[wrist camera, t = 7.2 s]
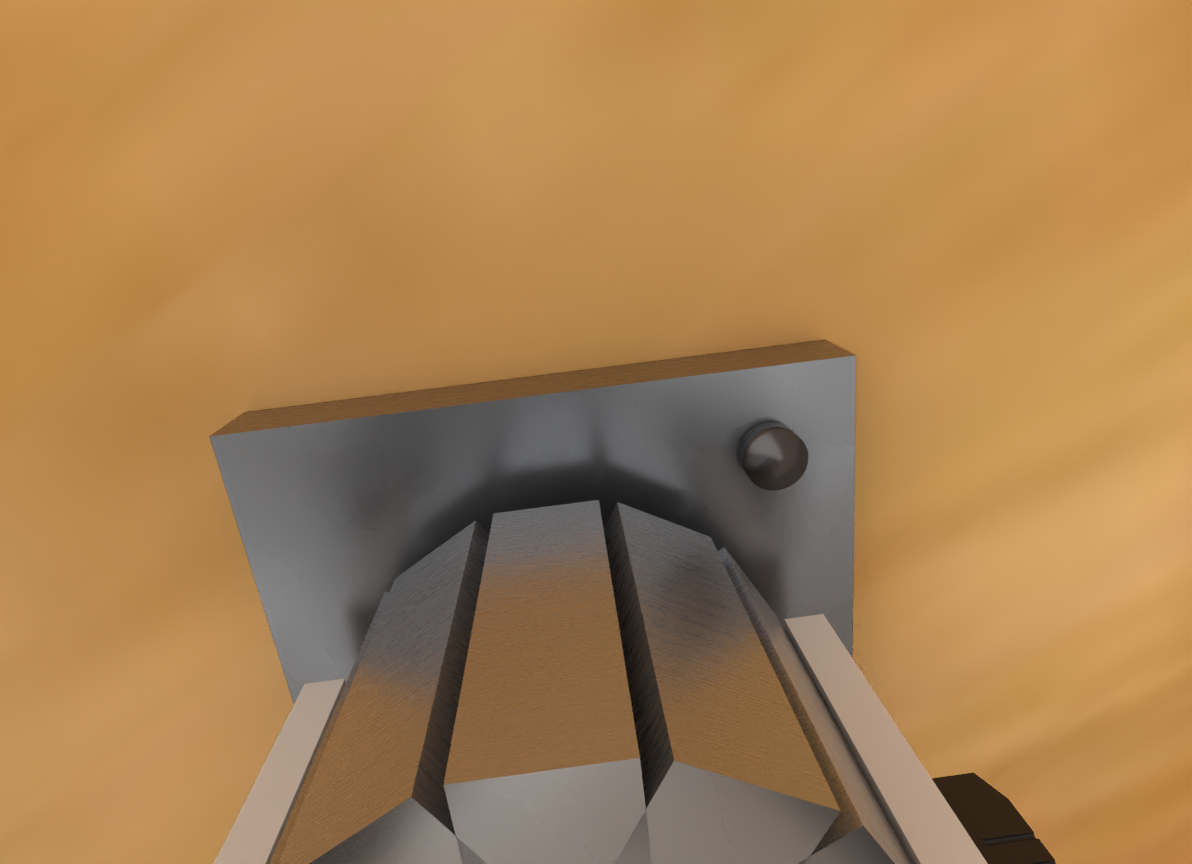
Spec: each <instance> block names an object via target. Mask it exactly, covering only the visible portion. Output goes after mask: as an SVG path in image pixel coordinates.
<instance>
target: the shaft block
mask: <svg viewBox="0 0 1192 864" xmlns="http://www.w3.org/2000/svg"><path fill="white" fill-rule="evenodd" d="M855 400H856V355H854V354H852V353H850V352H848V351H846V350H844V349H842V348H840V347H839V346H837V345H835V344H833V343H831V342H829V341H827V340H821V341H813V342H805V343H797V344H789V345H781V346H773V347H765V348H757V349H749V350H741V351H733V352H724V353H716V354H708V355H700V356H692V357H684V358H676V359H668V360H660V361H652V362H644V363H636V364H628V365H620V366H612V367H604V368H596V369H588V370H580V371H572V372H564V373H556V374H548V375H540V376H532V377H524V378H516V379H508V380H500V381H492V382H484V383H476V384H468V385H460V386H452V387H444V388H436V389H428V390H420V391H412V392H404V393H396V394H388V395H380V396H372V397H364V398H356V399H348V400H340V401H332V402H324V403H316V404H308V405H300V406H292V407H284V408H276V409H268V410H260V411H252V412H244V413H243V414H241V415H240V416H238V417H237V418H235V419H234V420H233V421H231V422H230V423H228V424H227V425H225V426H224V427H222V428H221V429H220V430H218V431H217V432H215V433H214V434H212V435H211V436H209V437H210V440H211V443H212V446H213V450H214V453H215V456H216V459H217V462H218V465H219V469H220V472H221V475H222V478H223V481H224V484H225V488H226V491H227V494H228V497H229V500H230V503H231V507H232V510H233V513H234V516H235V519H236V522H237V526H238V529H239V532H240V535H241V538H242V541H243V545H244V548H245V551H246V554H247V557H248V560H249V564H250V567H251V570H252V573H253V576H254V579H255V583H256V586H257V589H258V592H259V595H260V598H261V602H262V605H263V608H264V611H265V614H266V617H267V621H268V624H269V627H270V630H271V633H272V636H273V640H274V643H275V646H276V649H277V652H278V655H279V659H280V662H281V665H282V668H283V671H284V674H285V678H286V681H287V684H288V687H289V690H290V693H291V697H292V700H293V703H294V704H295V702H296V700H297V698H298V696H299V694H300V692H301V690H302V688H303V686H304V684H308V683H316V682H323V681H330V680H338V679H345V682H347V679H348V677H349V675H350V672H351V670H352V668H353V665H354V663H355V661H356V658H357V656H358V653H359V651H360V649H361V646H362V644H363V642H364V639H365V637H366V635H367V632H368V630H369V628H370V625H371V623H372V621H373V618H374V616H375V613H376V611H377V609H378V606H379V604H380V602H381V599H382V597H383V595H384V592H388V593H389V592H390V590H391V587H392V585H393V582H394V580H395V578H396V577H398V576H399V575H401V574H402V573H403V572H405V571H406V570H407V569H409V568H410V567H412V566H413V565H414V564H416V563H417V562H419V561H420V560H421V559H423V558H424V557H426V556H427V555H428V554H430V553H431V552H432V551H434V550H435V549H437V548H438V547H439V546H441V545H442V544H444V543H445V542H446V541H448V540H449V539H451V538H452V537H453V536H455V535H456V534H458V533H459V532H460V531H462V530H463V529H464V528H466V527H467V526H469V525H470V524H471V523H473V522H474V521H477V522H478V523H479V524H480V525H481V526H482V527H483V529H484V530H485V531H486V532H487V533H488V534H490V529H491V523H492V518H493V513H501V512H508V511H516V510H524V509H532V508H540V507H547V506H555V505H563V504H571V503H578V502H586V501H594V500H599V504H600V511H601V517H602V523H603V529H605V527H606V525H607V522H608V520H609V518H610V516H611V514H612V512H613V510H614V508H615V506H616V504H617V502H619V503H621V504H624V505H627V506H629V507H632V508H635V509H637V510H640V511H643V512H645V513H648V514H651V515H653V516H656V517H659V518H661V519H664V520H667V521H669V522H672V523H675V524H677V525H680V526H683V527H685V528H688V529H691V530H693V531H696V532H699V533H701V534H704V535H707V536H709V537H711V539H712V541H713V543H714V545H715V547H716V549H717V551H719V550H720V549H722V548H723V547H725V549H726V550H727V551H728V552H729V554H730V555H731V556H732V558H733V559H734V560H735V562H736V563H737V564H738V566H739V567H740V568H741V569H742V571H743V572H744V573H745V575H746V576H747V577H748V579H749V580H750V581H751V582H752V584H753V585H754V586H755V588H756V589H757V590H758V592H759V593H760V594H761V596H762V597H763V598H764V599H765V601H766V602H767V603H768V605H769V606H770V607H771V609H772V610H773V611H774V612H775V614H776V615H777V617H778V619H779V620H780V622H781V624H782V626H783V628H784V630H785V621H784V619H790V618H797V617H805V616H812V615H819V614H824V616H825V617H826V619H827V621H828V622H829V624H830V625H831V627H832V628H833V630H834V631H835V633H836V634H837V636H838V637H839V639H840V640H841V642H842V643H843V645H844V646H845V648H846V649H847V651H848V652H849V654H850V655H851V657H852V644H853V563H854V482H855Z"/></svg>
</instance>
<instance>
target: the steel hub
mask: <svg viewBox="0 0 1192 864" xmlns="http://www.w3.org/2000/svg"><path fill="white" fill-rule="evenodd" d="M269 864H912V863H911V861H910V860H909V858H908V856H907V854H906V852H905V850H904V848H903V847H902V845H901V843H900V841H899V839H898V837H897V836H896V834H895V832H894V830H893V828H892V826H891V825H890V823H889V821H888V819H887V817H886V815H885V814H884V812H883V810H882V808H881V806H880V804H879V803H878V801H877V799H876V797H875V795H874V793H873V791H872V790H871V788H870V786H869V784H868V782H867V780H866V779H865V777H864V775H863V773H862V771H861V769H860V768H859V766H858V764H857V762H856V760H855V758H854V757H853V755H852V753H851V751H850V749H849V747H848V746H847V744H846V742H845V740H844V738H843V736H842V734H841V733H840V731H839V729H838V727H837V725H836V723H835V722H834V720H833V718H832V716H831V714H830V712H829V711H828V709H827V707H826V705H825V703H824V701H823V700H822V698H821V696H820V694H819V692H818V690H817V689H816V687H815V685H814V683H813V681H812V679H811V677H810V676H809V674H808V672H807V670H806V668H805V666H804V665H803V663H802V661H801V659H800V657H799V655H798V654H797V652H796V650H795V648H794V646H793V644H792V643H791V641H790V639H789V637H788V635H787V633H786V632H785V630H784V628H783V626H782V624H781V622H780V620H779V619H778V617H777V615H776V614H775V612H774V611H773V610H772V609H771V607H770V606H769V605H768V603H767V602H766V601H765V599H764V598H763V597H762V596H761V594H760V593H759V592H758V590H757V589H756V588H755V586H754V585H753V584H752V582H751V581H750V580H749V579H748V577H747V576H746V575H745V573H744V572H743V571H742V569H741V568H740V567H739V566H738V564H737V563H736V562H735V560H734V559H733V558H732V556H731V555H730V554H729V552H728V551H727V550H726V549H725V547H723V548H722V549H720V550H719V551H717V549H716V547H715V545H714V543H713V541H712V539H711V537H709V536H707V535H704V534H701V533H699V532H696V531H693V530H691V529H688V528H685V527H683V526H680V525H677V524H675V523H672V522H669V521H667V520H664V519H661V518H659V517H656V516H653V515H651V514H648V513H645V512H643V511H640V510H637V509H635V508H632V507H629V506H627V505H624V504H621V503H619V502H617V504H616V506H615V508H614V510H613V512H612V514H611V516H610V518H609V520H608V522H607V525H606V527H605V529H603V523H602V517H601V511H600V504H599V500H594V501H586V502H578V503H571V504H563V505H555V506H547V507H540V508H532V509H524V510H516V511H508V512H501V513H493V518H492V523H491V529H490V534H488V533H487V532H486V531H485V530H484V529H483V527H482V526H481V525H480V524H479V523H478V522H477V521H474V522H473V523H471V524H470V525H469V526H467V527H466V528H464V529H463V530H462V531H460V532H459V533H458V534H456V535H455V536H453V537H452V538H451V539H449V540H448V541H446V542H445V543H444V544H442V545H441V546H439V547H438V548H437V549H435V550H434V551H432V552H431V553H430V554H428V555H427V556H426V557H424V558H423V559H421V560H420V561H419V562H417V563H416V564H414V565H413V566H412V567H410V568H409V569H407V570H406V571H405V572H403V573H402V574H401V575H399V576H398V577H396V578H395V580H394V582H393V585H392V587H391V590H390V592H389V593H388V592H384V595H383V597H382V599H381V602H380V604H379V606H378V609H377V611H376V613H375V616H374V618H373V621H372V623H371V625H370V628H369V630H368V632H367V635H366V637H365V639H364V642H363V644H362V646H361V649H360V651H359V653H358V656H357V658H356V661H355V663H354V665H353V668H352V670H351V672H350V675H349V677H348V679H347V682H346V684H345V686H344V689H343V691H342V694H341V696H340V698H339V701H338V703H337V705H336V708H335V710H334V712H333V715H332V717H331V719H330V722H329V724H328V727H327V729H326V731H325V734H324V736H323V738H322V741H321V743H320V745H319V748H318V750H317V752H316V755H315V757H314V760H313V762H312V764H311V767H310V769H309V771H308V774H307V776H306V778H305V781H304V783H303V785H302V788H301V790H300V792H299V795H298V797H297V800H296V802H295V804H294V807H293V809H292V811H291V814H290V816H289V818H288V821H287V823H286V825H285V828H284V830H283V833H282V835H281V837H280V840H279V842H278V844H277V847H276V849H275V851H274V854H273V856H272V858H271V861H270V863H269Z"/></svg>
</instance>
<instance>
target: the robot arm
mask: <svg viewBox="0 0 1192 864" xmlns="http://www.w3.org/2000/svg"><path fill="white" fill-rule="evenodd" d="M784 621H785V632H786V633H787V635H788V637H789V639H790V641H791V643H792V644H793V646H794V648H795V650H796V652H797V654H798V655H799V657H800V659H801V661H802V663H803V665H804V666H805V668H806V670H807V672H808V674H809V676H810V677H811V679H812V681H813V683H814V685H815V687H816V689H817V690H818V692H819V694H820V696H821V698H822V700H823V701H824V703H825V705H826V707H827V709H828V711H829V712H830V714H831V716H832V718H833V720H834V722H835V723H836V725H837V727H838V729H839V731H840V733H841V734H842V736H843V738H844V740H845V742H846V744H847V746H848V747H849V749H850V751H851V753H852V755H853V757H854V758H855V760H856V762H857V764H858V766H859V768H860V769H861V771H862V773H863V775H864V777H865V779H866V780H867V782H868V784H869V786H870V788H871V790H872V791H873V793H874V795H875V797H876V799H877V801H878V803H879V804H880V806H881V808H882V810H883V812H884V814H885V815H886V817H887V819H888V821H889V823H890V825H891V826H892V828H893V830H894V832H895V834H896V836H897V837H898V839H899V841H900V843H901V845H902V847H903V848H904V850H905V852H906V854H907V856H908V858H909V860H910V861H911V863H912V864H1056V863H1055V860H1054V858H1053V857H1052V856H1051V854H1050V853H1049V852H1048V850H1047V849H1046V848H1045V846H1044V845H1043V844H1042V843H1041V841H1040V840H1039V839H1036V838H1035V836H1034V832H1033V831H1032V829H1031V828H1030V827H1029V826H1028V824H1027V823H1026V822H1025V820H1024V819H1023V818H1022V816H1021V815H1020V814H1019V812H1018V811H1017V810H1016V808H1015V807H1014V806H1013V805H1012V803H1011V802H1010V801H1009V799H1008V798H1006V797H1005V796H1004V795H1002V794H1001V793H1000V792H998V791H997V790H996V789H994V788H993V787H992V786H990V785H989V784H988V783H986V782H985V781H984V780H982V779H981V778H980V777H978V776H977V775H976V774H974V773H968V774H961V775H954V776H947V777H940V778H933V779H932V778H931V777H930V775H929V774H928V772H927V771H926V769H925V768H924V766H923V765H922V763H921V762H920V760H919V759H918V757H917V756H916V754H915V753H914V751H913V750H912V748H911V747H910V745H909V743H908V742H907V740H906V739H905V737H904V736H903V734H902V733H901V731H900V730H899V728H898V727H897V725H896V724H895V722H894V721H893V719H892V718H891V716H890V715H889V713H888V712H887V710H886V709H885V707H884V706H883V704H882V702H881V701H880V699H879V698H878V696H877V695H876V693H875V692H874V690H873V689H872V687H871V686H870V684H869V683H868V681H867V680H866V678H865V677H864V675H863V674H862V672H861V671H860V669H859V668H858V666H857V665H856V663H855V661H854V660H853V658H852V657H851V655H850V654H849V652H848V651H847V649H846V648H845V646H844V645H843V643H842V642H841V640H840V639H839V637H838V636H837V634H836V633H835V631H834V630H833V628H832V627H831V625H830V624H829V622H828V621H827V619H826V617H825V616H824V614H819V615H812V616H805V617H797V618H790V619H784ZM345 684H346V682H345V679H338V680H330V681H323V682H316V683H308V684H304V686H303V688H302V690H301V692H300V694H299V696H298V698H297V700H296V702H295V704H294V706H293V708H292V710H291V712H290V714H289V716H288V718H287V720H286V722H285V724H284V726H283V728H282V730H281V732H280V734H279V735H278V737H277V739H276V741H275V743H274V745H273V747H272V749H271V751H270V753H269V755H268V757H267V759H266V761H265V763H264V765H263V767H262V769H261V771H260V773H259V775H258V777H257V779H256V781H255V783H254V785H253V787H252V789H251V791H250V793H249V795H248V797H247V799H246V801H245V803H244V805H243V807H242V808H241V810H240V812H239V814H238V816H237V818H236V820H235V822H234V824H233V826H232V828H231V830H230V832H229V834H228V836H227V838H226V840H225V842H224V844H223V846H222V848H221V850H220V852H219V854H218V856H217V858H216V860H215V862H214V864H269V863H270V861H271V858H272V856H273V854H274V851H275V849H276V847H277V844H278V842H279V840H280V837H281V835H282V833H283V830H284V828H285V825H286V823H287V821H288V818H289V816H290V814H291V811H292V809H293V807H294V804H295V802H296V800H297V797H298V795H299V792H300V790H301V788H302V785H303V783H304V781H305V778H306V776H307V774H308V771H309V769H310V767H311V764H312V762H313V760H314V757H315V755H316V752H317V750H318V748H319V745H320V743H321V741H322V738H323V736H324V734H325V731H326V729H327V727H328V724H329V722H330V719H331V717H332V715H333V712H334V710H335V708H336V705H337V703H338V701H339V698H340V696H341V694H342V691H343V689H344V686H345Z"/></svg>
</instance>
